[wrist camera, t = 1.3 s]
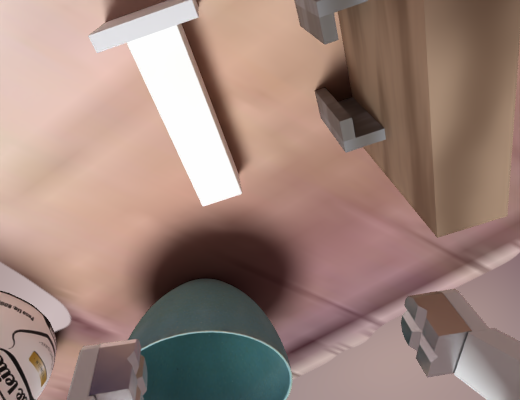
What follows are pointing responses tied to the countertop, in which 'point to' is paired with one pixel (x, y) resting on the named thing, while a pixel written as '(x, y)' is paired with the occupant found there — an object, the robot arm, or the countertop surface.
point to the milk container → (24, 349)
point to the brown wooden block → (428, 98)
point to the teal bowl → (211, 346)
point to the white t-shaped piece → (177, 92)
